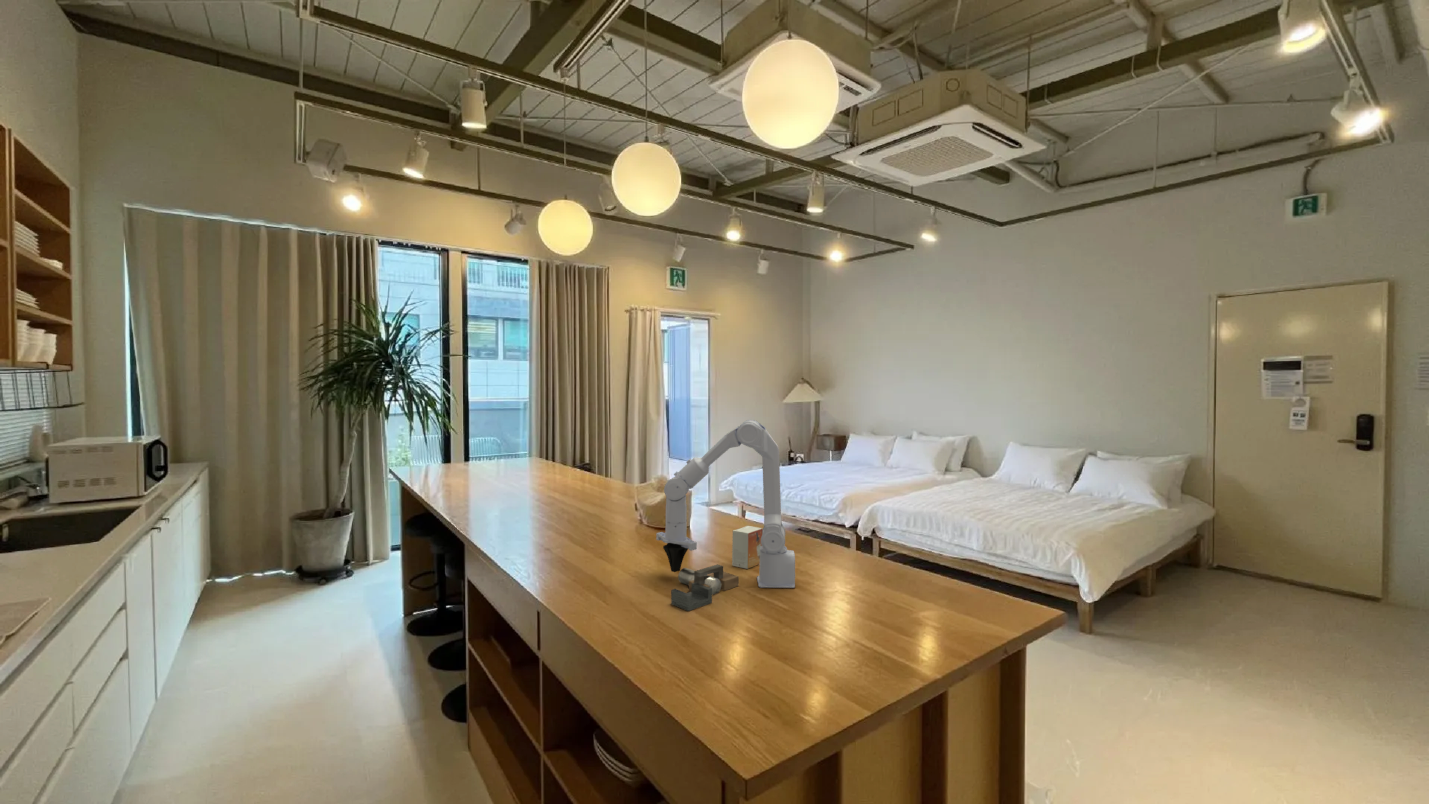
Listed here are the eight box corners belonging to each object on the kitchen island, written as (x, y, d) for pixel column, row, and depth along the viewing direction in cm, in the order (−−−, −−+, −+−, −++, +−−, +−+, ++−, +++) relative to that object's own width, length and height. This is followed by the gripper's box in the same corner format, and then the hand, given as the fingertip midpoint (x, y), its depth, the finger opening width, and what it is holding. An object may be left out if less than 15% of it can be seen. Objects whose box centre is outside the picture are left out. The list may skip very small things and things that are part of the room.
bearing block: (688, 591, 152) (689, 569, 151) (722, 580, 160) (722, 559, 160) (705, 597, 147) (705, 575, 147) (738, 585, 156) (738, 564, 156)
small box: (747, 569, 169) (748, 533, 169) (731, 566, 173) (732, 530, 172) (762, 563, 176) (763, 528, 176) (746, 559, 179) (747, 525, 179)
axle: (680, 585, 158) (677, 572, 157) (690, 578, 160) (687, 565, 159) (711, 597, 149) (708, 583, 148) (722, 589, 152) (719, 575, 151)
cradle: (671, 604, 142) (671, 589, 142) (695, 596, 148) (695, 582, 148) (687, 611, 138) (688, 596, 138) (711, 602, 144) (712, 588, 144)
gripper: (647, 519, 163) (647, 567, 164) (682, 528, 153) (682, 580, 154) (667, 515, 168) (667, 562, 169) (702, 524, 158) (702, 574, 159)
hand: (675, 571), depth 162 cm, fingers closed
